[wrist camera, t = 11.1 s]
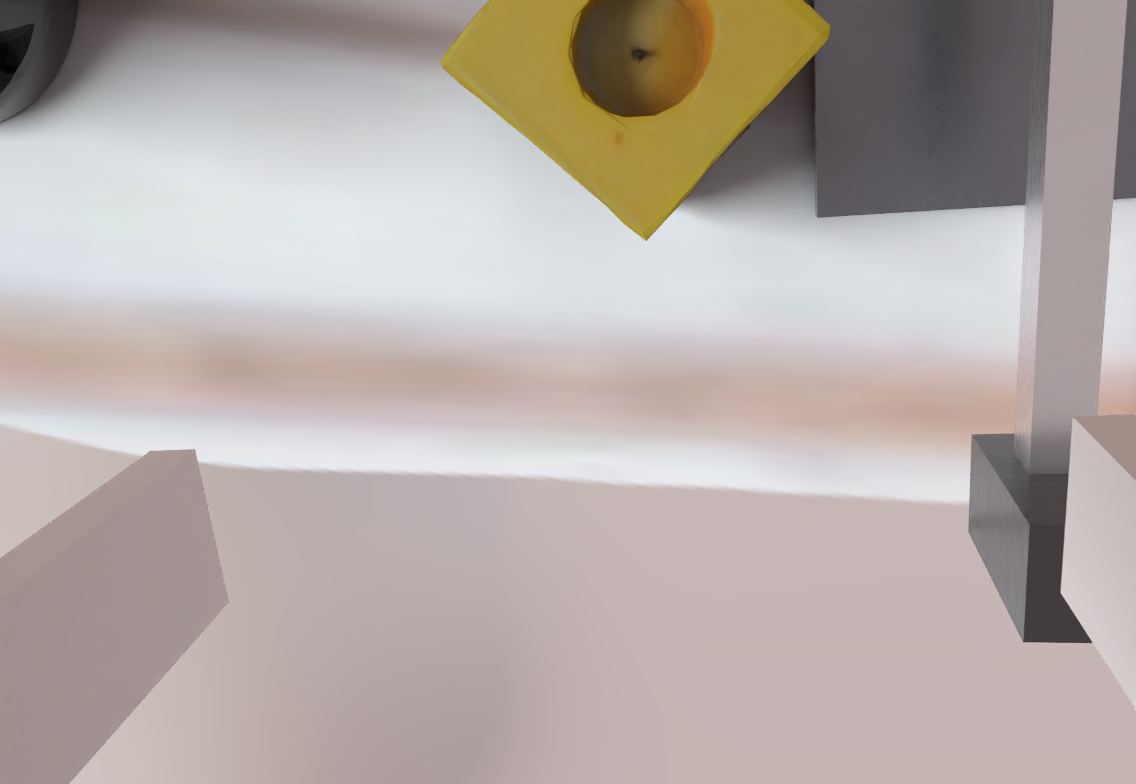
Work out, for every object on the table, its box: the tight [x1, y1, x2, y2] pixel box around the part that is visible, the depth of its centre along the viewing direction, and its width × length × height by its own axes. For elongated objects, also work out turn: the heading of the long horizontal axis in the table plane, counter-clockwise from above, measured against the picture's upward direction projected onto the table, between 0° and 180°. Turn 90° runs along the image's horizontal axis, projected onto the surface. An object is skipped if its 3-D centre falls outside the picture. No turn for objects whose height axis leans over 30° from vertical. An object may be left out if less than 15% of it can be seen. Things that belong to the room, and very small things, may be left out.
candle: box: [441, 0, 831, 241], centre depth 39 cm, size 10×10×10 cm
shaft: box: [969, 0, 1127, 643], centre depth 31 cm, size 4×26×8 cm, turn 5°
